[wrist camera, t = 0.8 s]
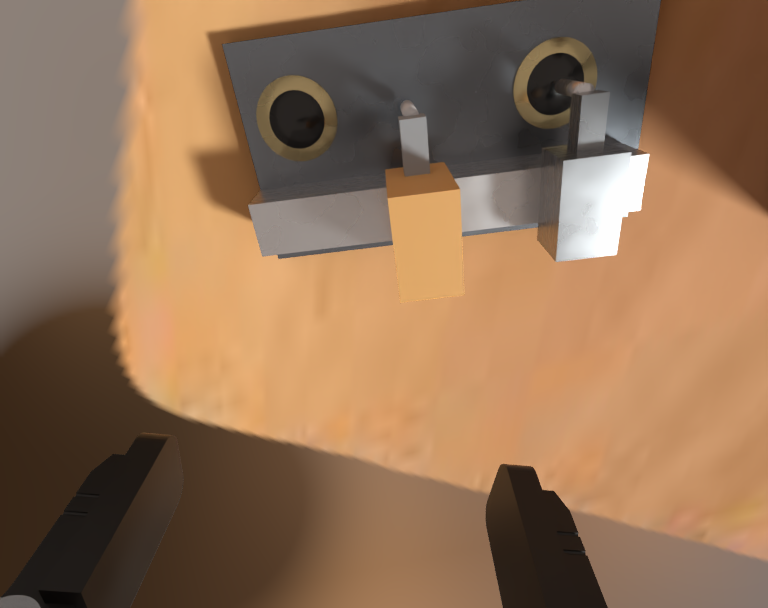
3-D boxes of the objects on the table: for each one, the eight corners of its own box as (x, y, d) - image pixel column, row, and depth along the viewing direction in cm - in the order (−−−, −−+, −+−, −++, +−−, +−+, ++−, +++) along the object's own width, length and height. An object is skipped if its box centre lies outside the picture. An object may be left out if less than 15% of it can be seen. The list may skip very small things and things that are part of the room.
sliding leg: (435, 96, 23) (457, 114, 17) (443, 237, 27) (464, 295, 21) (377, 104, 23) (378, 125, 17) (394, 243, 27) (400, 302, 21)
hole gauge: (652, -18, 23) (754, -42, 17) (619, 211, 29) (686, 255, 22) (227, 44, 24) (176, 43, 18) (281, 252, 30) (257, 305, 24)
